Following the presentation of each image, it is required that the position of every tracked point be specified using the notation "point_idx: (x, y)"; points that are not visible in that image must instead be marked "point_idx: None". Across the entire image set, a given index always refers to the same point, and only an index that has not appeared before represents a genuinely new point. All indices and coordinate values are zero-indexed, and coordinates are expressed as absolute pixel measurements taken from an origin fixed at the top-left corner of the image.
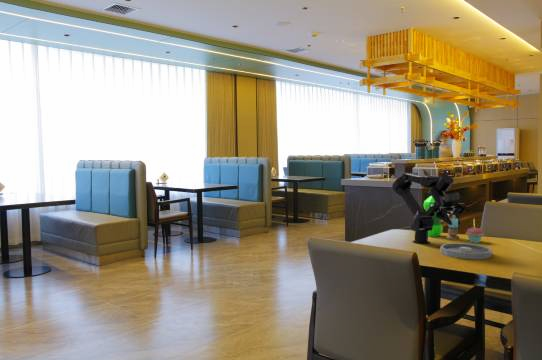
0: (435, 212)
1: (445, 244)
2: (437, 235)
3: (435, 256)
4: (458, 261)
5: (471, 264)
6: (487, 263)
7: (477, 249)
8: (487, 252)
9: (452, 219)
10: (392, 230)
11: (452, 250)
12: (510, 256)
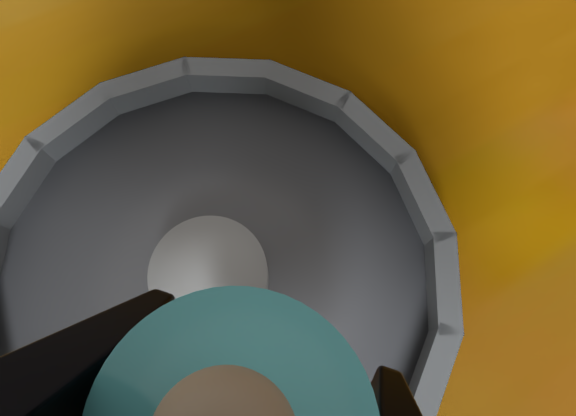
0: None
1: None
2: None
3: (563, 398)
4: (525, 165)
5: (513, 64)
6: (385, 17)
7: (41, 253)
8: (228, 60)
9: (364, 379)
10: None
11: None
12: (37, 22)
